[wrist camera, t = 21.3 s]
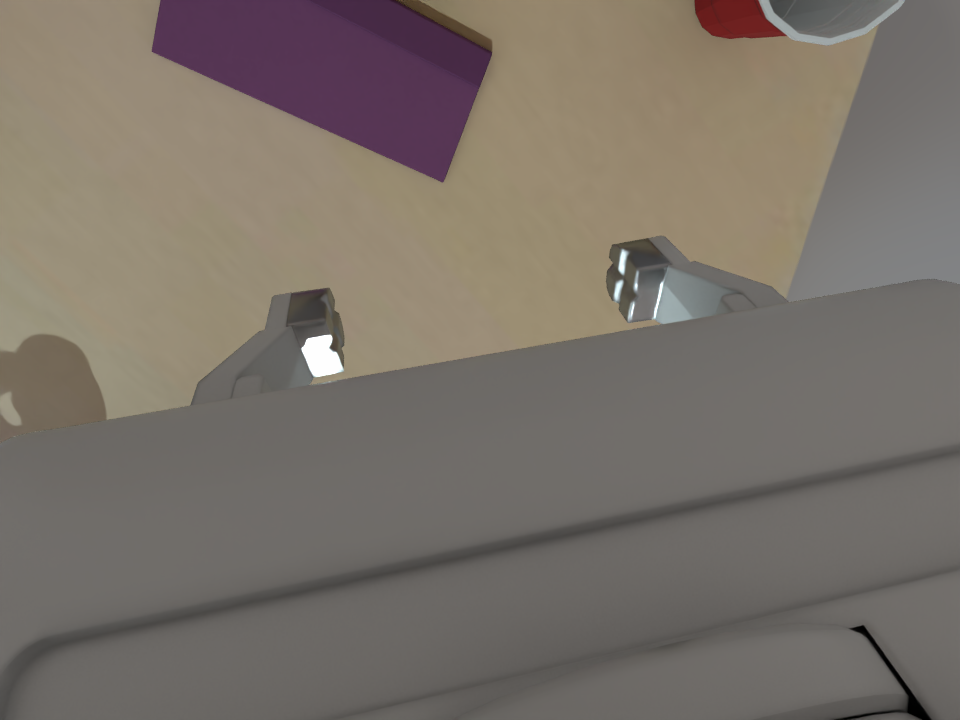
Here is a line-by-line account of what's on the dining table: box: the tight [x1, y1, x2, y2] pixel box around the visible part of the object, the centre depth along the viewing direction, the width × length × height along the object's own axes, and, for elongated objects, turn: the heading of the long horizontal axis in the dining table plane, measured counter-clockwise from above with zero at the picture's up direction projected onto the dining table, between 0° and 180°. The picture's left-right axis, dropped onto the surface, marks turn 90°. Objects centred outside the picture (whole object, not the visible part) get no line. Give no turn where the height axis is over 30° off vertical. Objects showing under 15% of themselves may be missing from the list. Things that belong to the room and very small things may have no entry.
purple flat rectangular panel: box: [152, 0, 492, 182], centre depth 35 cm, size 22×10×1 cm, turn 66°
